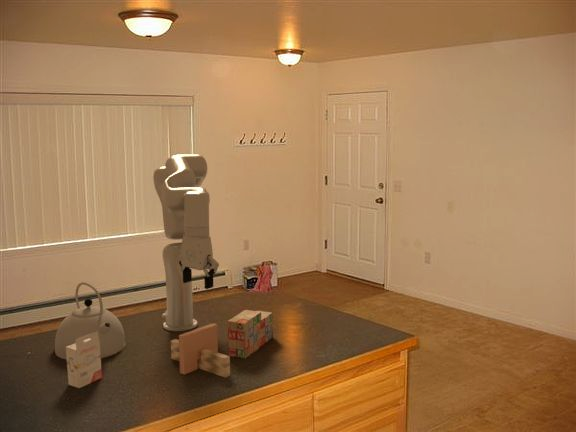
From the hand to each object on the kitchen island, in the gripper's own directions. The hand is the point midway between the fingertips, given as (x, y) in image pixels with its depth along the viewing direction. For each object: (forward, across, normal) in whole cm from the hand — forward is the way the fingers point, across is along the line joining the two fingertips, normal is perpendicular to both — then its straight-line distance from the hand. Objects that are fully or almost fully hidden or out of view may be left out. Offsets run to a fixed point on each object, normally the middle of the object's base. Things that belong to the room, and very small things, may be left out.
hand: (198, 285), depth 186 cm
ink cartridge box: (+25, -15, -32) cm, 43 cm away
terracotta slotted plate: (+25, +4, -3) cm, 25 cm away
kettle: (+26, -36, -15) cm, 47 cm away
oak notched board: (+25, +4, -4) cm, 25 cm away
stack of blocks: (+26, +5, +19) cm, 33 cm away
